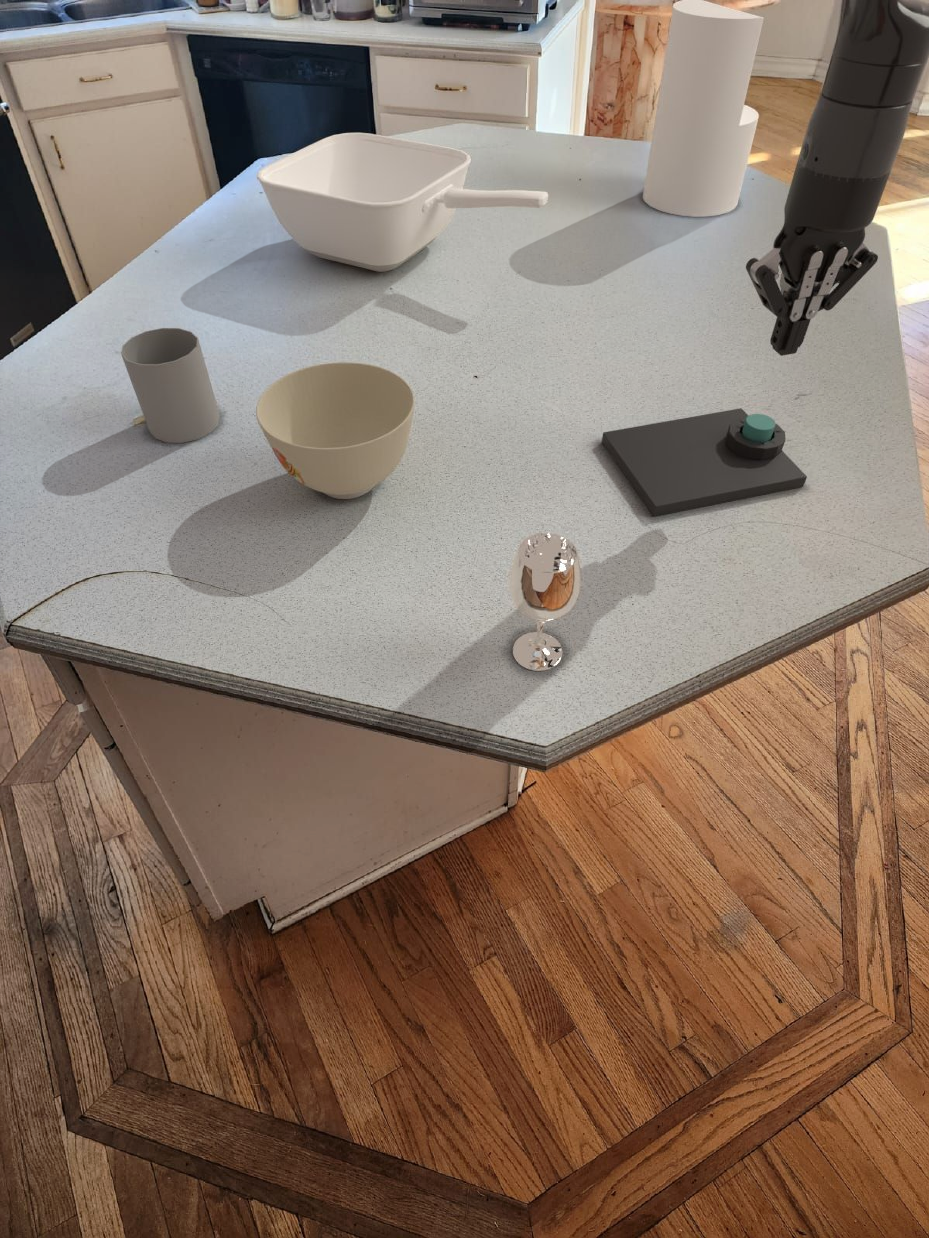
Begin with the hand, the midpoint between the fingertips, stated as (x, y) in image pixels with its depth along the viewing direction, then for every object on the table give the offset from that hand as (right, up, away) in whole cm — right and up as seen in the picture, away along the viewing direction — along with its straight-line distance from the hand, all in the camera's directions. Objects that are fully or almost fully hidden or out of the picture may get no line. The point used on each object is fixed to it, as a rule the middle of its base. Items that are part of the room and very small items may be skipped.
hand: (783, 351), depth 77 cm
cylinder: (+9, +51, +64) cm, 82 cm away
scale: (-6, -10, +9) cm, 14 cm away
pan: (-40, +31, +46) cm, 69 cm away
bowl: (-45, -12, +8) cm, 48 cm away
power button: (+1, -6, +9) cm, 11 cm away
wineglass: (-26, -30, -9) cm, 41 cm away
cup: (-66, -3, +15) cm, 68 cm away
